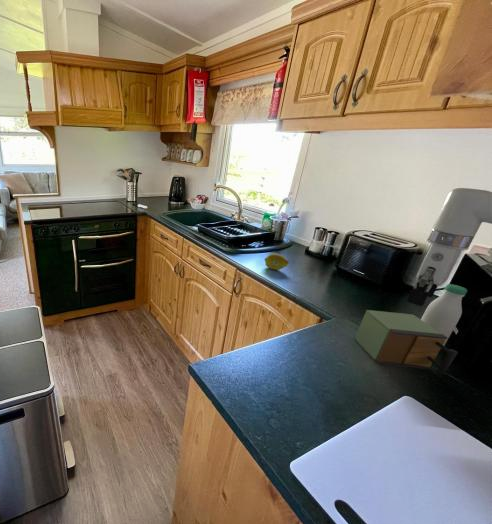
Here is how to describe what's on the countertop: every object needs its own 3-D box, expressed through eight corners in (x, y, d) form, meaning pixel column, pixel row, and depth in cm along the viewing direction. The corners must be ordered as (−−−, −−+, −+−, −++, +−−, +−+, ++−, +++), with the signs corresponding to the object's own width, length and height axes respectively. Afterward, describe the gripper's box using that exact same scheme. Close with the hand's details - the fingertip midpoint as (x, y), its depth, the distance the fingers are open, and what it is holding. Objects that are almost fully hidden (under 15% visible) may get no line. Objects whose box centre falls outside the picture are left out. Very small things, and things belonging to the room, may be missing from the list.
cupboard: (429, 369, 82) (447, 337, 78) (378, 364, 83) (394, 332, 79) (398, 343, 93) (413, 314, 89) (354, 338, 94) (366, 309, 89)
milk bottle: (442, 351, 91) (475, 295, 83) (411, 338, 96) (439, 285, 88) (444, 341, 96) (475, 288, 88) (414, 330, 101) (441, 279, 93)
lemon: (260, 268, 145) (264, 253, 142) (265, 264, 151) (269, 249, 148) (282, 275, 139) (287, 259, 136) (287, 270, 144) (291, 255, 141)
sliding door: (446, 380, 77) (464, 352, 73) (418, 377, 77) (435, 349, 74) (428, 365, 82) (444, 338, 79) (402, 363, 83) (417, 335, 79)
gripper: (463, 249, 64) (429, 314, 71) (476, 239, 74) (445, 297, 80) (420, 239, 70) (392, 300, 76) (437, 231, 80) (411, 286, 86)
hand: (419, 299), depth 78 cm, fingers open, 9 cm apart
